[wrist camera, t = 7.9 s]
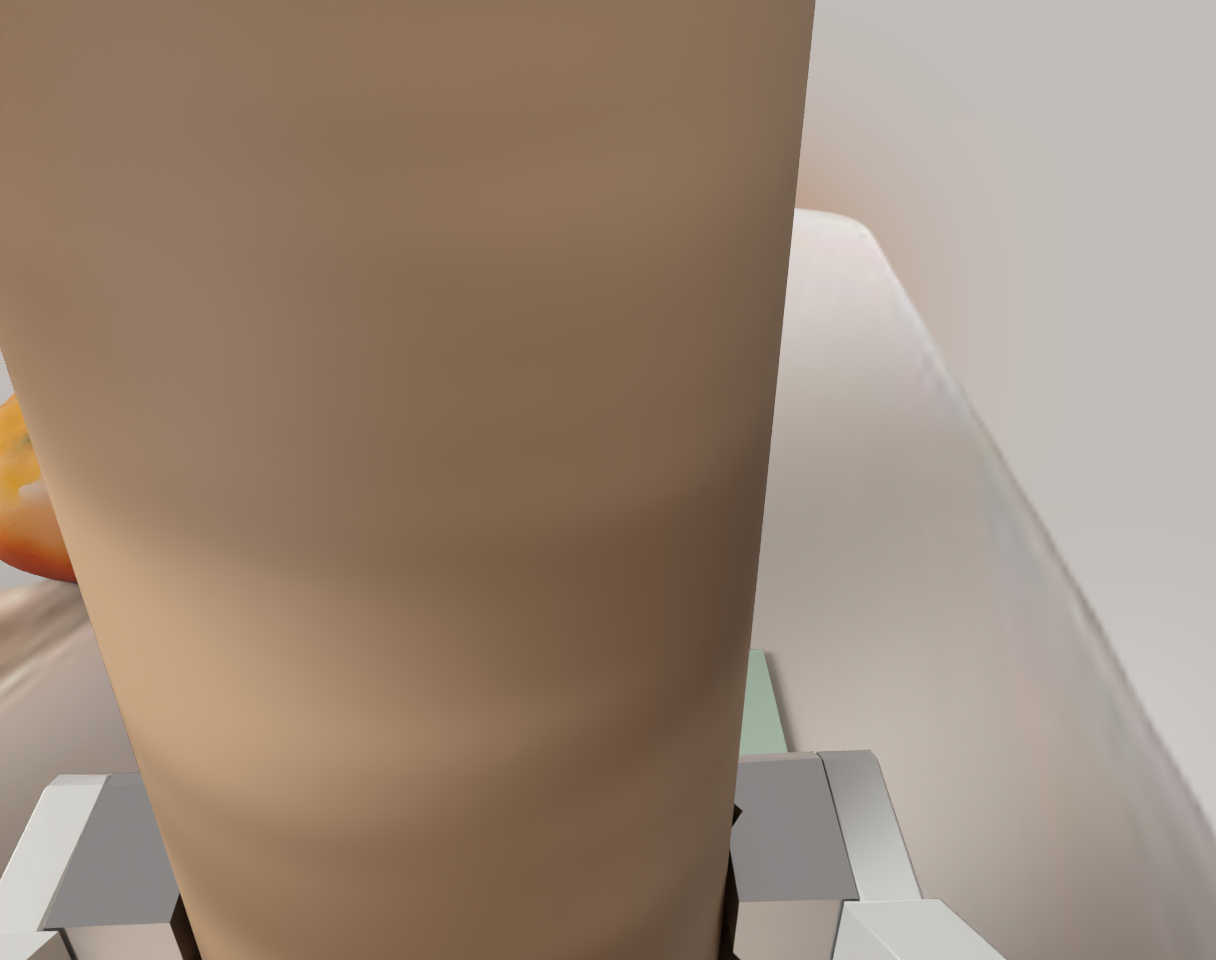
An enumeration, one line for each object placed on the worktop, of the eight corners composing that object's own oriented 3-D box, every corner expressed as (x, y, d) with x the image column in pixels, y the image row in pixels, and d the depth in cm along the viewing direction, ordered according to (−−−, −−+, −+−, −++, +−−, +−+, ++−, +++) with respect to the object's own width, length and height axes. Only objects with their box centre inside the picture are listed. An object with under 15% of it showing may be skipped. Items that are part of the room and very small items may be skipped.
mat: (278, 1017, 28) (274, 1004, 27) (350, 679, 38) (347, 666, 37) (838, 989, 28) (841, 975, 28) (761, 662, 38) (763, 649, 38)
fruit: (261, 456, 47) (165, 354, 40) (190, 633, 44) (72, 556, 37) (98, 432, 49) (-21, 330, 42) (19, 599, 46) (-125, 520, 39)
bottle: (328, 1575, 13) (-802, -878, 3) (376, 1182, 17) (-11, -517, 6) (693, 1553, 14) (1075, -831, 3) (662, 1169, 17) (773, -505, 6)
